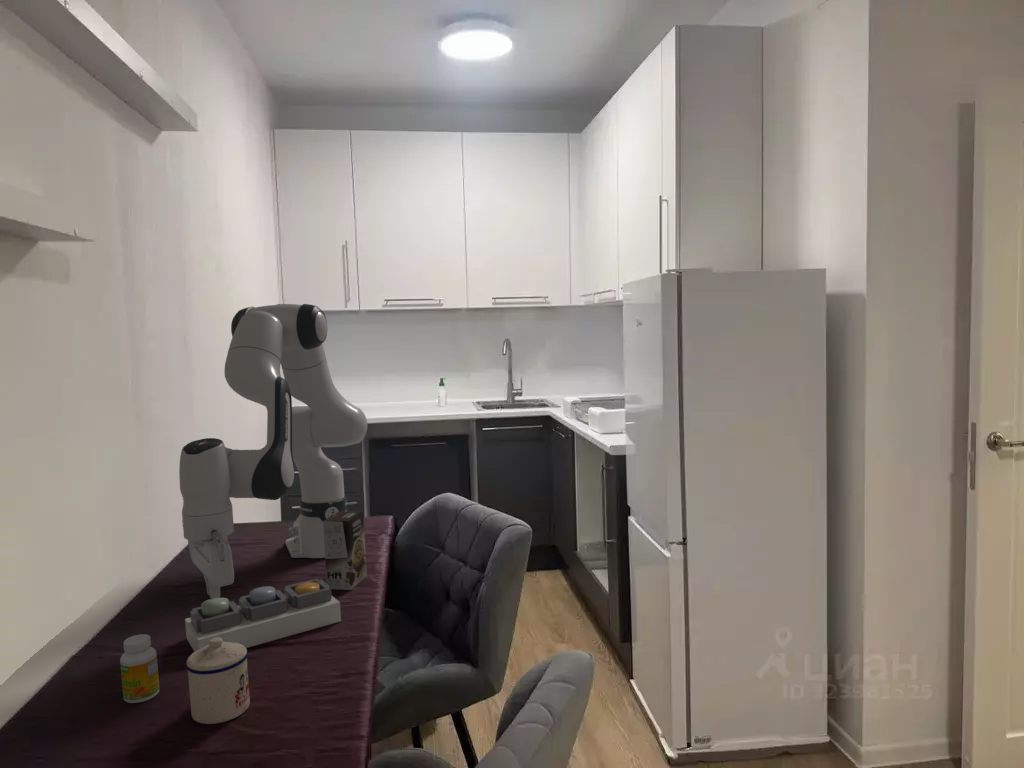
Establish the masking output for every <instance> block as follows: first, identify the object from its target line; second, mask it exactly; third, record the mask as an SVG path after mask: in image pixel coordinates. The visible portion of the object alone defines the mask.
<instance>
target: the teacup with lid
mask: <svg viewBox="0 0 1024 768" xmlns="http://www.w3.org/2000/svg"><path fill="white" fill-rule="evenodd" d="M248 656H249V652H248V649H247V648H245V647H244V646H243V645H241V644H239V643H233V642H223V639H222V638H220V637H216V638H213V639H211V640H210V641H209V645H207V646H205V647H203V648H201V649H199V650H197V651H195V652H194V651H193V652H192V654H190V655H189V656H188V658H187V660H186V663H185V669H186V671H187V675H188V687H189V688H188V689H189V698H190V710H191V711H190V712H191V713H190V714H191V717H192V720H194V721H195V722H196V723H198V724H199V723H200V724H203V725H215V724H222V723H225V722H229V721H231V720H234V719H235V718H237V717H239V716H241V715H242V714H244V713H245V712H246V711H247V710H248V708H249V706H250V703H251V700H250V699H251V698H250V684H249V682H250V681H249V671H248V670H249V669H248Z"/></svg>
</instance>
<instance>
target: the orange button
mask: <svg viewBox="0 0 1024 768" xmlns="http://www.w3.org/2000/svg"><path fill="white" fill-rule="evenodd" d="M317 590H320V588H319V584H318V583H315V582H308V583H303V584H300V585H298V586H296V587H295V592H296V593H297V594H298V595H301V594H305V593H309V592H313V591H317Z"/></svg>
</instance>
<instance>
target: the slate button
mask: <svg viewBox="0 0 1024 768" xmlns="http://www.w3.org/2000/svg"><path fill="white" fill-rule="evenodd" d="M275 590H276V588H275V587H274V586H261V587H256V588H253V589H251V590H250V591H249V595H250V603H251V604H252V605H261V604H265V603H269V602H273V601H275V600H276V594H275Z"/></svg>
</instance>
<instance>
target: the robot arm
mask: <svg viewBox="0 0 1024 768" xmlns="http://www.w3.org/2000/svg"><path fill="white" fill-rule="evenodd" d="M326 316H327V315H326V314H325V312H324V311H323V310H322V309H321V308H320V306H318V305H313V304H309V303H303V304H293V303H277V304H272V305H262V306H261V305H260V306H256V307H255V306H248V307H244V308H242V309H239V310H238V311H237V312H236V314H235V315H234V316H233V318H232V320H231V326H230V331H231V332H230V333H231V337H232V338H231V340H230V344H229V347H228V350H227V353H226V354H227V355H226V359H225V363H224V373H223V374H224V378H225V381H226V383H227V384H228V386H229V387H230V389H232V390H233V392H235V393H236V394H237V395H239V396H240V397H242V398H244V399H246V400H248V401H251V402H254V403H257V404H259V405H261V406H264V407H265V408H266V413H267V417H266V418H267V419H266V420H267V422H266V425H267V426H266V428H267V430H266V444H265V446H264V447H263V448H260V449H232V448H229V447H226V445H225V443H224V441H223V440H222V439H220V438H214V437H209V438H208V437H207V438H206V437H205V438H201V439H197V440H196V439H195V440H192V441H191V442H188V443H187V444H185V445H183V447H182V448H181V452H180V457H179V467H178V468H179V471H178V472H179V473H178V474H179V490H180V493H181V497H182V501H183V502H182V503H183V504H182V509H181V517H182V520H181V521H182V530H183V539H185V540H187V544H188V551H189V555H190V558H191V561H192V563H193V564H194V565H195V567H196V568H197V569H198V570H199V571H200V572H201V573H202V574H203V579H204V582H205V584H206V592H207V595H208V596H209V598H210V599H215V598H221V588H222V587H225V586H230V585H232V584H233V583H234V582H235V570H234V563H233V555H232V554H233V553H232V549H231V548H232V547H231V545H230V543H229V542H228V538H229V537H228V536H229V535H231V534H233V533H234V531H235V527H234V526H235V525H234V513H233V512H234V511H233V504H232V501H231V498H233V499H259V500H268V501H277V500H279V499H280V498H282V497H284V496H285V494H287V493H288V491H289V490H290V489H291V488H292V487H293V485H294V483H295V482H294V481H295V466H296V469H297V471H298V476H299V477H298V478H299V483H300V485H299V486H300V493H301V499H300V503H299V516H298V517H297V518H296V519H295V520H294V522H293V526H292V527H289V528H288V535H289V537H290V538H287V539H285V546H286V547H287V548H286V549H287V550H288V553H289V555H290V557H291V558H293V559H299V558H300V559H302V558H307V559H308V558H309V559H325V544H324V525H323V521H324V520H326V519H327V518H329V517H331V516H332V515H334V514H336V513H337V512H339V511H348V510H347V509H348V500H347V496H346V495H345V484H344V481H345V480H344V471H343V469H342V467H341V465H340V464H339V463H337V462H336V461H334V460H332V459H330V458H328V456H326V454H325V453H324V452H323V450H322V448H344V447H348V446H349V447H350V446H352V445H356V444H357V445H358V444H360V443H361V442H362V441H363V440H364V438H365V437H366V434H367V432H368V420H367V417H366V415H365V413H364V412H363V410H362V409H361V408H360V407H358V406H356V405H354V404H352V403H350V402H349V401H348V400H347V399H346V398H345V397H344V396H343V395H342V394H341V393H340V392H339V390H338V389H337V388H336V386H335V384H334V382H333V380H332V376H331V373H330V369H329V366H328V361H327V356H326V352H325V349H324V342H325V341H326V339H327V336H328V321H327V317H326ZM281 371H282V374H283V377H282V375H281ZM292 397H293V398H294V399H295V400H298V401H299V402H301V403H304V404H305V405H304V406H303V405H301V406H300V405H297V406H296V405H294V406H293V401H292Z"/></svg>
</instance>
